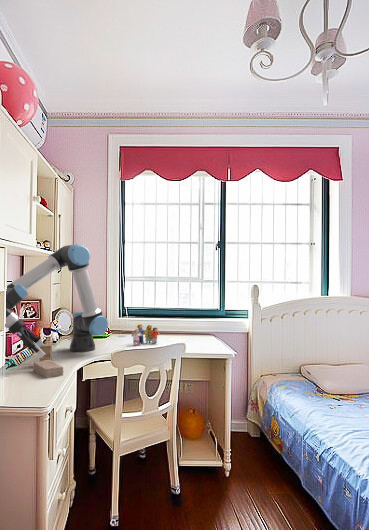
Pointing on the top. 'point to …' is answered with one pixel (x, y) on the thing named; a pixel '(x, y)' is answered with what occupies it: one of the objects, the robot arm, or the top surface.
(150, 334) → the doll family
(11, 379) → the top surface
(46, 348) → the walnut block
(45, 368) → the brick
